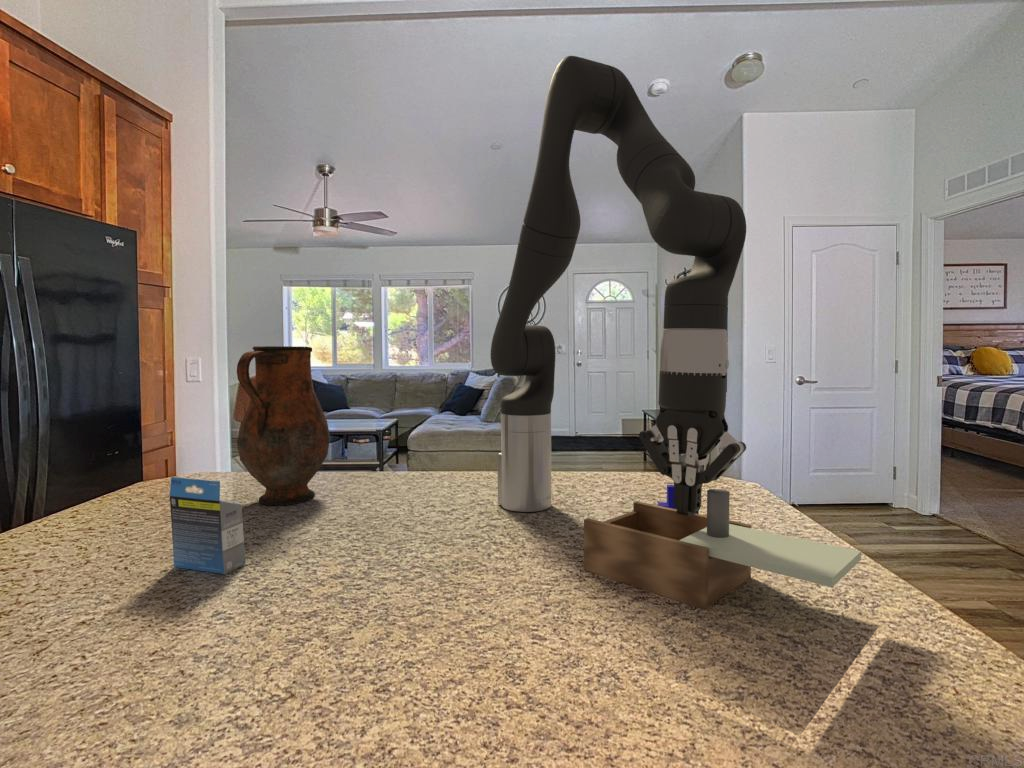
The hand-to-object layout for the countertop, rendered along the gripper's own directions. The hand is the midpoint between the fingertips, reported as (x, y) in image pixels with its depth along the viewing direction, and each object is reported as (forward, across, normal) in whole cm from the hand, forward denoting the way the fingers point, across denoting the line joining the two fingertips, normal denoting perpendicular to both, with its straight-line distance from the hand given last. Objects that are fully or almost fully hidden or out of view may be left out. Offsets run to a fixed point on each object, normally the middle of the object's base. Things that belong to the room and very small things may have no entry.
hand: (686, 514), depth 67 cm
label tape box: (+11, -49, -38) cm, 62 cm away
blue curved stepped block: (+10, -11, +19) cm, 24 cm away
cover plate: (+2, +9, 0) cm, 10 cm away
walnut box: (+9, -2, 0) cm, 9 cm away
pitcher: (+12, -76, -17) cm, 78 cm away
